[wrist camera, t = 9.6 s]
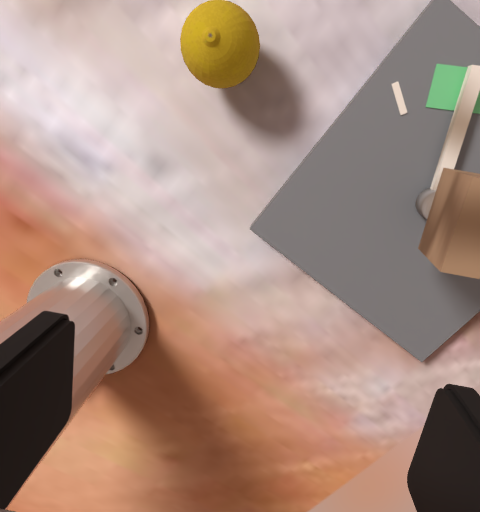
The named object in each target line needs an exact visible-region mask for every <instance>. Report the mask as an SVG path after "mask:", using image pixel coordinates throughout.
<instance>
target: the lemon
mask: <svg viewBox="0 0 480 512" xmlns="http://www.w3.org/2000/svg"><path fill="white" fill-rule="evenodd" d="M180 40H181V52H182V55H183V59H184V62H185V63H186V65H187V67H188V69H189V71H190V72H191V73H192V74H193V75H194V76H195V77H196V79H198V80H199V81H201V82H202V83H204V84H205V85H208V86H211V87H214V88H228V87H233V86H235V85H237V84H239V83H241V82H243V81H244V80H245V79H246V78H247V77H248V76H249V75H250V74H251V72H252V71H253V69H254V68H255V66H256V63H257V60H258V57H259V49H260V43H259V35H258V32H257V29H256V26H255V24H254V22H253V20H252V19H251V17H250V16H249V14H248V13H247V12H245V11H244V10H243V9H242V8H241V7H240V6H238V5H236V4H234V3H232V2H230V1H224V0H211V1H207V2H205V3H203V4H200V5H199V6H198V7H196V8H195V9H194V10H193V11H192V12H191V13H190V14H189V16H188V17H187V18H186V21H185V23H184V25H183V28H182V33H181V38H180Z"/></svg>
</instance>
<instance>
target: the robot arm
mask: <svg viewBox="0 0 480 512" xmlns="http://www.w3.org/2000/svg"><path fill="white" fill-rule="evenodd" d="M115 279H116V280H117V281H116V280H115ZM148 333H149V316H148V311H147V308H146V305H145V303H144V300H143V298H142V296H141V295H140V293H139V292H138V290H137V288H136V287H135V286H134V285H133V284H132V283H131V282H130V280H129V279H128V278H126V277H125V276H124V275H123V274H121V273H120V272H119V271H117V270H116V269H114V268H112V267H110V266H108V265H106V264H103V263H100V262H98V261H94V260H87V259H71V260H67V261H62V262H60V263H58V264H56V265H53V266H52V267H50V268H49V269H47V270H46V271H44V272H43V273H42V274H41V275H40V276H39V277H38V278H37V279H36V280H35V281H34V283H33V285H32V286H31V288H30V291H29V294H28V297H27V303H26V304H25V305H23V306H22V307H20V308H19V309H18V310H16V311H15V312H13V313H12V314H10V315H9V316H7V317H6V318H4V319H3V320H1V321H0V512H15V511H9V510H7V508H8V507H9V506H10V504H11V503H12V501H13V500H14V498H15V497H16V496H17V494H18V493H19V491H20V490H21V488H22V487H23V486H24V484H25V483H26V481H27V480H28V479H29V477H30V476H31V475H32V473H33V472H34V471H35V469H36V468H37V466H38V465H39V464H40V462H41V461H42V460H43V459H44V457H45V456H46V455H47V453H48V452H49V450H50V449H51V448H52V446H53V445H54V444H55V442H56V441H57V440H58V438H59V437H60V436H61V434H62V433H63V431H64V430H65V429H66V427H67V426H68V425H69V423H70V422H71V421H72V419H73V418H74V417H75V415H76V414H77V412H78V411H79V410H80V408H81V407H82V406H83V404H84V403H85V402H86V400H87V399H88V398H89V396H90V395H91V393H92V392H93V391H94V389H95V388H96V387H97V385H98V384H99V383H100V381H101V380H102V379H103V377H104V376H105V375H106V374H111V373H114V372H117V371H120V370H122V369H124V368H125V367H127V366H128V365H130V364H131V363H132V362H133V361H134V360H135V359H136V358H137V357H138V355H139V354H140V352H141V351H142V349H143V347H144V345H145V343H146V341H147V338H148ZM407 483H408V488H409V491H410V494H411V497H412V500H413V502H414V505H415V507H416V510H417V512H480V396H479V394H478V393H477V392H476V391H475V390H474V389H473V388H469V387H463V386H458V385H452V384H447V385H446V386H445V387H444V389H442V388H440V389H438V390H437V392H436V394H435V397H434V400H433V402H432V405H431V408H430V411H429V414H428V417H427V420H426V422H425V425H424V428H423V431H422V434H421V437H420V440H419V442H418V446H417V448H416V451H415V454H414V457H413V460H412V462H411V465H410V468H409V471H408V476H407Z"/></svg>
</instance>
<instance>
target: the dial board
mask: <svg viewBox="0 0 480 512" xmlns="http://www.w3.org/2000/svg"><path fill="white" fill-rule="evenodd" d="M470 65H478V66H480V27H479V26H478V25H477V24H476V23H475V22H474V21H473V20H472V19H470V18H469V17H468V16H467V15H466V14H465V13H464V12H463V11H461V10H460V9H459V8H458V7H457V6H456V5H455V4H454V3H453V2H451V1H450V0H431V2H430V3H429V4H428V5H427V7H426V8H425V9H424V10H423V12H422V13H421V14H420V15H419V17H418V18H417V19H416V20H415V22H414V23H413V24H412V25H411V27H410V28H409V29H408V30H407V32H406V33H405V34H404V35H403V37H402V38H401V39H400V40H399V42H398V43H397V44H396V45H395V47H394V48H393V49H392V50H391V52H390V53H389V54H388V55H387V57H386V58H385V59H384V60H383V62H382V63H381V64H380V65H379V66H378V68H377V69H376V70H375V71H374V73H373V74H372V75H371V76H370V78H369V79H368V80H367V81H366V83H365V84H364V85H363V86H362V88H361V89H360V90H359V91H358V93H357V94H356V95H355V96H354V98H353V99H352V100H351V101H350V103H349V104H348V105H347V106H346V108H345V109H344V110H343V111H342V113H341V114H340V115H339V116H338V118H337V119H336V120H335V121H334V123H333V124H332V125H331V126H330V128H329V129H328V130H327V131H326V132H325V134H324V135H323V136H322V137H321V139H320V140H319V141H318V142H317V144H316V145H315V146H314V147H313V149H312V150H311V151H310V152H309V154H308V155H307V156H306V157H305V159H304V160H303V161H302V162H301V164H300V165H299V166H298V167H297V169H296V170H295V171H294V172H293V174H292V175H291V176H290V177H289V179H288V180H287V181H286V182H285V184H284V185H283V186H282V187H281V189H280V190H279V191H278V192H277V194H276V195H275V196H274V197H273V198H272V200H271V201H270V202H269V203H268V205H267V206H266V207H265V208H264V210H263V211H262V212H261V213H260V215H259V216H258V217H257V218H256V220H255V221H254V222H253V223H252V225H251V227H250V230H252V231H253V232H254V233H255V234H257V235H258V236H259V237H261V238H262V239H263V240H264V241H266V242H267V243H268V244H270V245H271V246H272V247H273V248H275V249H276V250H277V251H279V252H280V253H281V254H283V255H284V256H285V257H286V258H288V259H289V260H290V261H292V262H293V263H294V264H295V265H297V266H298V267H299V268H301V269H302V270H303V271H305V272H306V273H307V274H308V275H310V276H311V277H312V278H314V279H315V280H316V281H317V282H319V283H320V284H321V285H323V286H324V287H325V288H326V289H328V290H329V291H330V292H332V293H333V294H334V295H336V296H337V297H338V298H339V299H341V300H342V301H343V302H345V303H346V304H347V305H348V306H350V307H351V308H352V309H354V310H355V311H356V312H357V313H359V314H360V315H361V316H363V317H364V318H365V319H367V320H368V321H369V322H370V323H372V324H373V325H374V326H376V327H377V328H378V329H379V330H381V331H382V332H383V333H385V334H386V335H387V336H388V337H390V338H391V339H392V340H394V341H395V342H396V343H398V344H399V345H400V346H401V347H403V348H404V349H405V350H407V351H408V352H409V353H410V354H412V355H413V356H414V357H416V358H417V359H418V360H419V361H421V362H423V361H424V360H425V359H426V358H427V357H428V356H429V355H431V354H432V353H433V352H434V351H435V350H436V349H437V348H438V347H440V346H441V345H442V344H443V343H444V342H445V341H446V340H448V339H449V338H450V337H451V336H452V335H453V334H454V333H456V332H457V331H458V330H459V329H460V328H461V327H462V326H463V325H465V324H466V323H467V322H468V321H469V320H470V319H471V318H473V317H474V316H475V315H476V314H477V313H478V312H479V311H480V279H476V278H470V277H465V276H460V275H454V274H449V273H444V272H440V271H439V270H438V269H437V268H436V267H435V266H434V265H433V264H432V263H431V262H430V261H429V259H428V258H427V257H426V256H425V255H424V254H423V253H422V252H421V251H420V250H419V249H418V247H419V244H420V240H421V237H422V234H423V231H424V228H425V225H426V221H427V219H426V218H425V217H423V216H422V215H421V214H419V213H418V211H417V210H416V206H415V202H416V198H417V196H418V195H419V194H420V193H421V192H422V191H423V190H425V189H427V188H430V187H431V184H432V181H433V178H434V174H435V171H436V168H437V165H438V161H439V158H440V155H441V152H442V148H443V145H444V142H445V139H446V136H447V132H448V129H449V126H450V123H451V119H452V116H453V113H454V110H455V106H456V103H457V100H458V97H459V94H460V90H461V87H462V84H463V81H464V77H465V74H466V71H467V68H468V66H470ZM454 169H455V170H461V171H467V172H473V173H478V174H480V91H479V94H478V97H477V100H476V103H475V106H474V109H473V112H472V115H471V118H470V122H469V125H468V128H467V131H466V134H465V137H464V140H463V143H462V146H461V149H460V152H459V155H458V159H457V162H456V165H455V168H454Z"/></svg>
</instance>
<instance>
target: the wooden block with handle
mask: <svg viewBox="0 0 480 512" xmlns="http://www.w3.org/2000/svg"><path fill="white" fill-rule="evenodd" d="M479 91H480V66H478V65H470V66H468V68H467V71H466V74H465V77H464V81H463V84H462V87H461V90H460V94H459V97H458V100H457V103H456V106H455V110H454V113H453V116H452V119H451V123H450V126H449V129H448V132H447V136H446V139H445V142H444V145H443V148H442V152H441V155H440V158H439V161H438V165H437V168H436V171H435V174H434V178H433V181H432V184H431V187H430V188H427V189H425V190H423V191H422V192H421V193H420V194H419V195H418V196H417V198H416V202H415V206H416V210H417V211H418V213H419V214H421V215H422V216H423V217H425V218H426V219H427V221H426V225H425V228H424V231H423V234H422V237H421V240H420V244H419V247H418V249H419V250H420V251H421V252H422V253H423V254H424V255H425V256H426V257H427V258H428V259H429V261H430V262H431V263H432V264H433V265H434V266H435V267H436V268H437V269H438V270H439V271H440V272H444V273H449V274H454V275H460V276H465V277H470V278H476V279H480V174H478V173H473V172H467V171H461V170H455V169H454V168H455V165H456V162H457V159H458V155H459V152H460V149H461V146H462V143H463V140H464V137H465V134H466V131H467V128H468V125H469V122H470V118H471V115H472V112H473V109H474V106H475V103H476V100H477V97H478V94H479Z"/></svg>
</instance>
